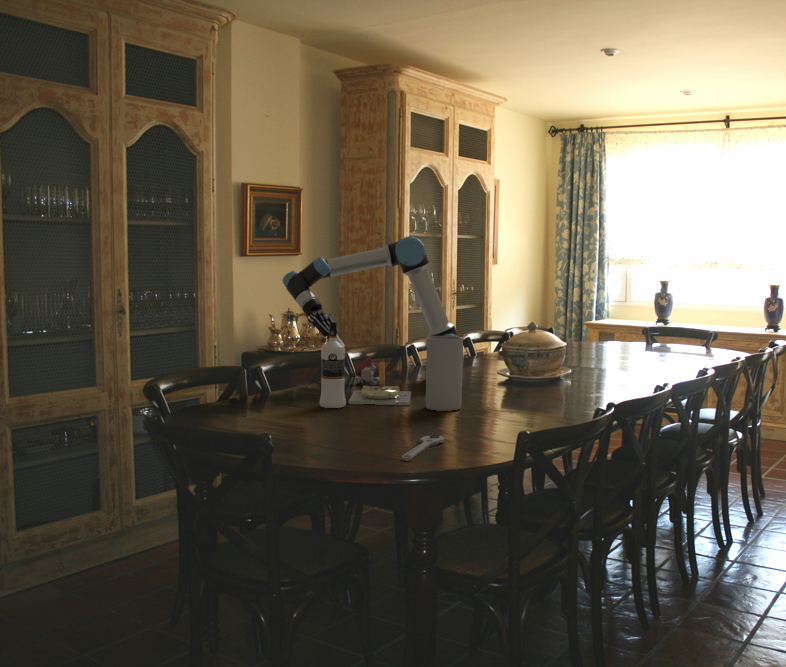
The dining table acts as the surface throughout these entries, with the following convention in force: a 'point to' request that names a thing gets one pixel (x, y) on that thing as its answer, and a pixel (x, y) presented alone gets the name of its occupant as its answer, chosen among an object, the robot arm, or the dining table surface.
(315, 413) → the dining table surface
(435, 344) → the cylinder vase
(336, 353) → the vodka
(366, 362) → the brake caliper
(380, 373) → the cream rounded piece
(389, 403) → the base plate
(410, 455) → the adjustable wrench
